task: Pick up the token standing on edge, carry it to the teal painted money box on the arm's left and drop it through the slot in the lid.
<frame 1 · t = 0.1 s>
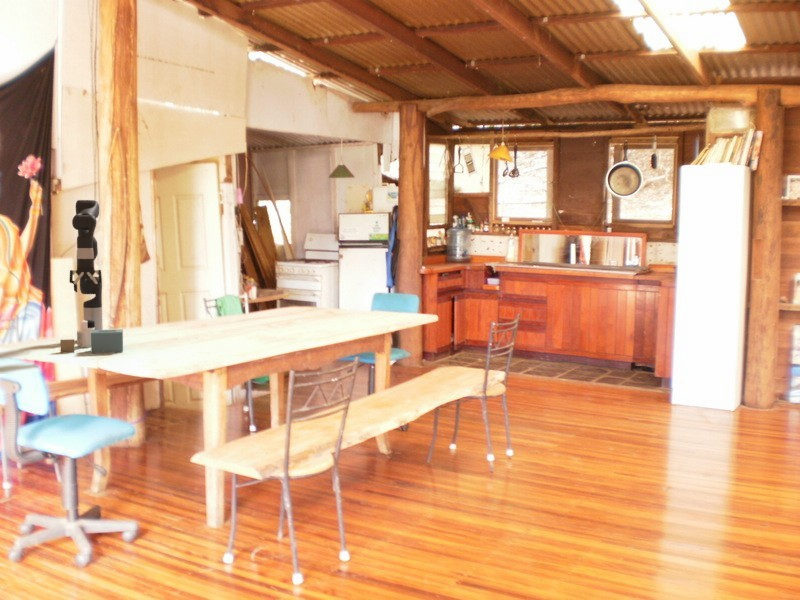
hand: (86, 291, 388), 29 cm above the table, fingers open, 8 cm apart
container: (88, 346, 412), on the table
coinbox: (107, 351, 396), on the table
token: (67, 352, 392), on the table
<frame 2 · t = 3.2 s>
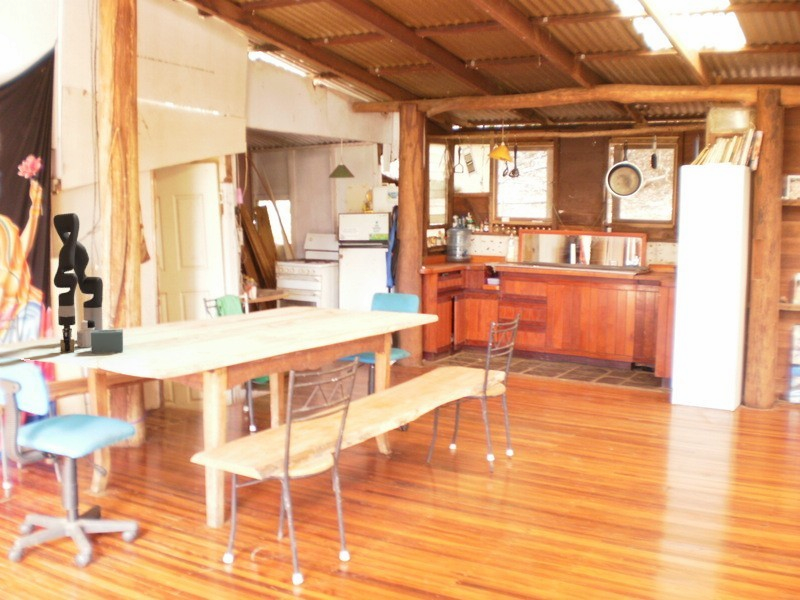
hand: (67, 350, 392), 1 cm above the table, fingers closed on token
token: (67, 352, 392), on the table, touching gripper
everything else where it was.
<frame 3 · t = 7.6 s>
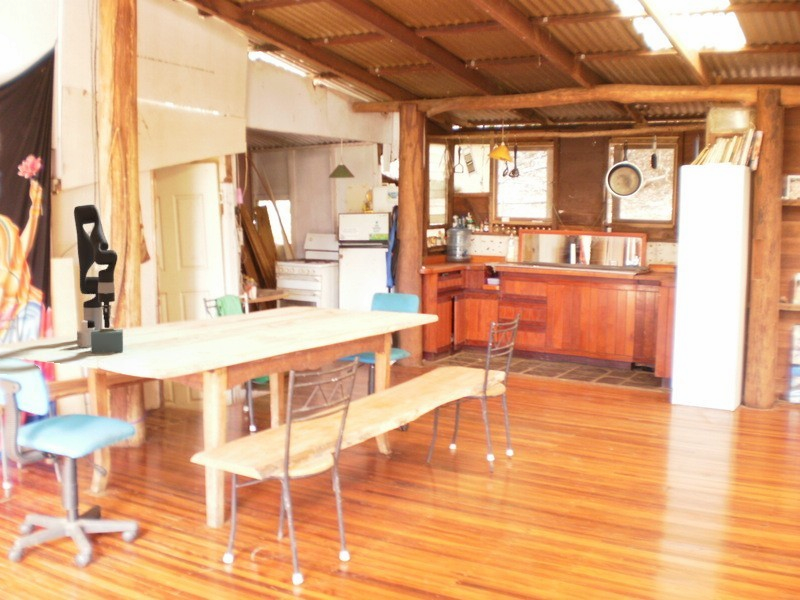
hand: (107, 327, 395), 12 cm above the table, fingers open, 3 cm apart
token: (107, 341, 396), point 5 cm above the table
everything else where it was.
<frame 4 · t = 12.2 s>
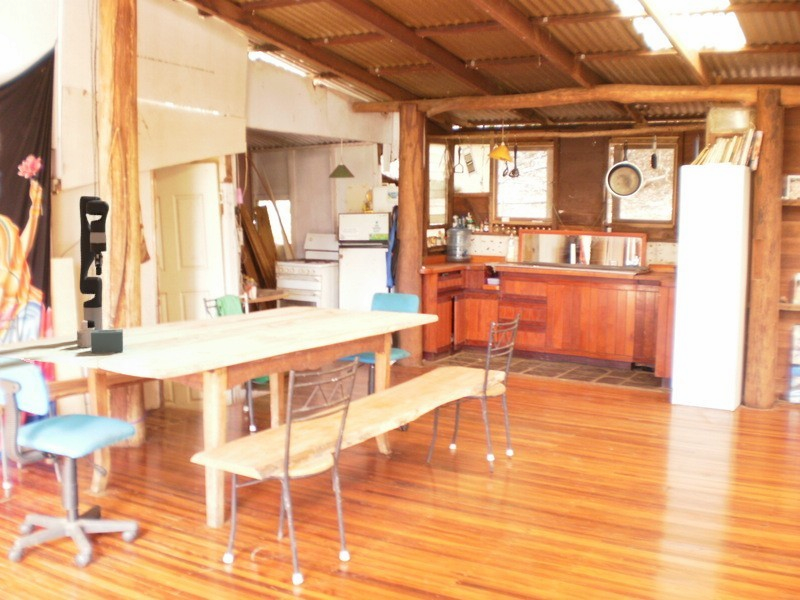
hand: (98, 274, 405), 36 cm above the table, fingers open, 8 cm apart
token: (107, 349, 396), point 1 cm above the table, touching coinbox
everything else where it was.
at the end: token inside the target area on the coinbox (0.1 cm from its centre), point 0.8 cm above the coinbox's base; the gripper is holding nothing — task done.
